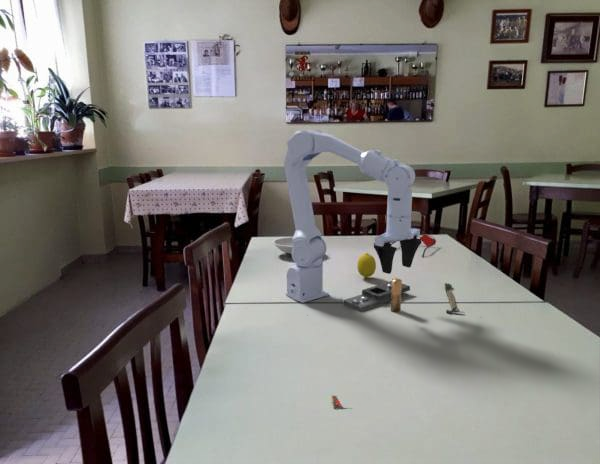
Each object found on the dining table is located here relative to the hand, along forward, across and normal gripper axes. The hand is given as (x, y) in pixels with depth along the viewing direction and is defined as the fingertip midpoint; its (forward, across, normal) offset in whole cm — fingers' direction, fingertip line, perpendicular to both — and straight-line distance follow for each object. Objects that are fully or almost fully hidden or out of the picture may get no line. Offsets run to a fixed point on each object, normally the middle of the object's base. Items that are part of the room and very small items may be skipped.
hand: (396, 269), depth 111 cm
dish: (+11, +12, +55) cm, 57 cm away
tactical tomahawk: (+11, +17, -6) cm, 21 cm away
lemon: (+11, +12, +21) cm, 27 cm away
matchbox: (+11, -37, -20) cm, 44 cm away
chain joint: (+10, +2, +7) cm, 13 cm away
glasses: (+11, +50, +33) cm, 61 cm away
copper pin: (+10, -1, -1) cm, 11 cm away
